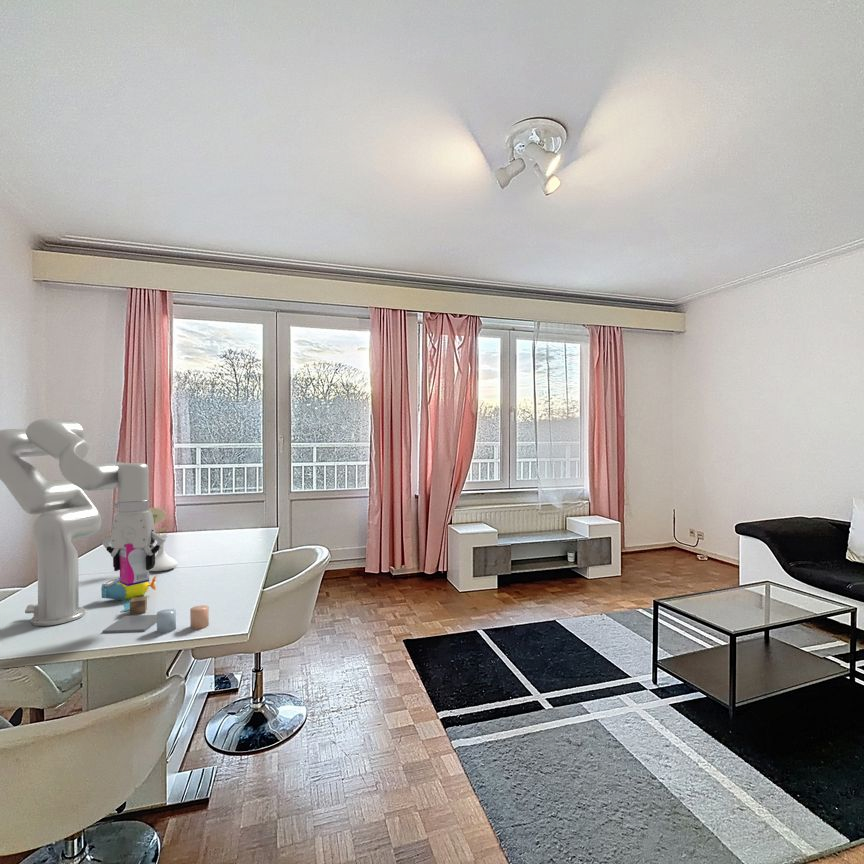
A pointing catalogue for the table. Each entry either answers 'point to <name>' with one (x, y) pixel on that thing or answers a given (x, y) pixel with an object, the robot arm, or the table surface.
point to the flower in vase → (162, 558)
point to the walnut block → (138, 605)
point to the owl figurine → (125, 591)
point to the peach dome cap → (199, 617)
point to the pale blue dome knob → (166, 621)
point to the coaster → (132, 624)
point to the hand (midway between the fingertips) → (134, 569)
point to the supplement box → (133, 565)
